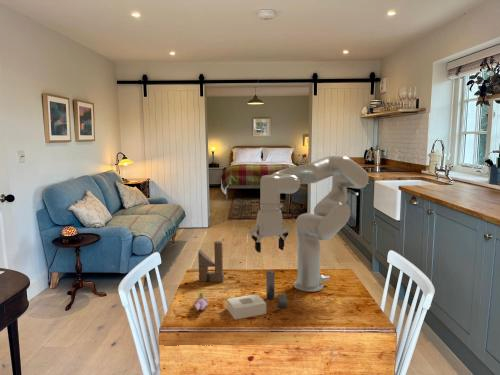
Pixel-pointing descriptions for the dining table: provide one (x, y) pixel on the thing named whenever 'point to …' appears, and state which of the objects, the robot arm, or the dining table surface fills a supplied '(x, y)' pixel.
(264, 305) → the hole block
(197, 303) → the pink toy figurine
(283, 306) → the short pin
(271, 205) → the robot arm
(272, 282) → the long pin
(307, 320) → the dining table surface
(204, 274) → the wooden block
